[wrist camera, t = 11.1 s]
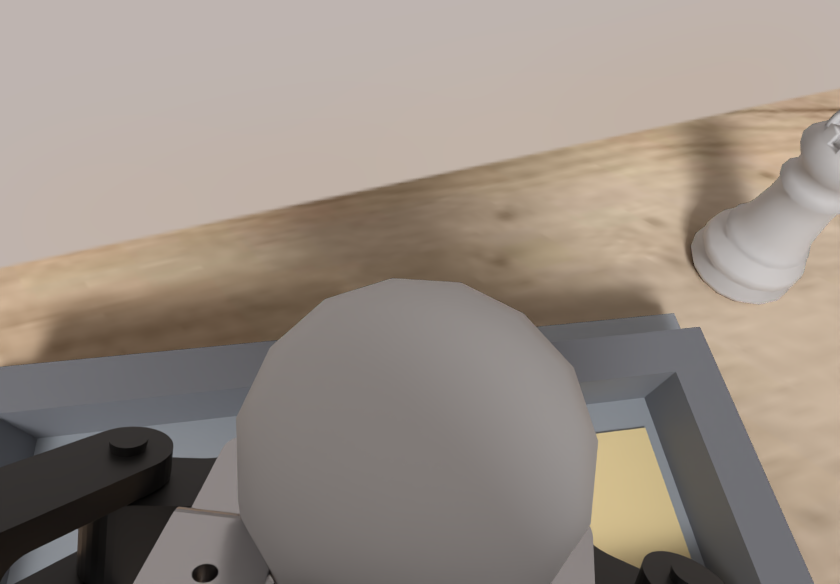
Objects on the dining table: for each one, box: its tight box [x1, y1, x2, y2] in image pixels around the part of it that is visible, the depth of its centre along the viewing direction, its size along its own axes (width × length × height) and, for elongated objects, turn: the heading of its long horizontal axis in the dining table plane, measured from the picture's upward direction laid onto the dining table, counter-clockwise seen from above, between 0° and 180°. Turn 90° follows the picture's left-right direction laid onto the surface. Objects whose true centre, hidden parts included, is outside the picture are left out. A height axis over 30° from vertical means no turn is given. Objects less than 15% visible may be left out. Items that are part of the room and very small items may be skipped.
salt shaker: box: [236, 278, 598, 584], centre depth 11 cm, size 6×6×13 cm
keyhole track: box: [0, 313, 814, 584], centre depth 16 cm, size 26×14×4 cm, turn 98°
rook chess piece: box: [691, 110, 840, 304], centre depth 21 cm, size 4×4×8 cm
